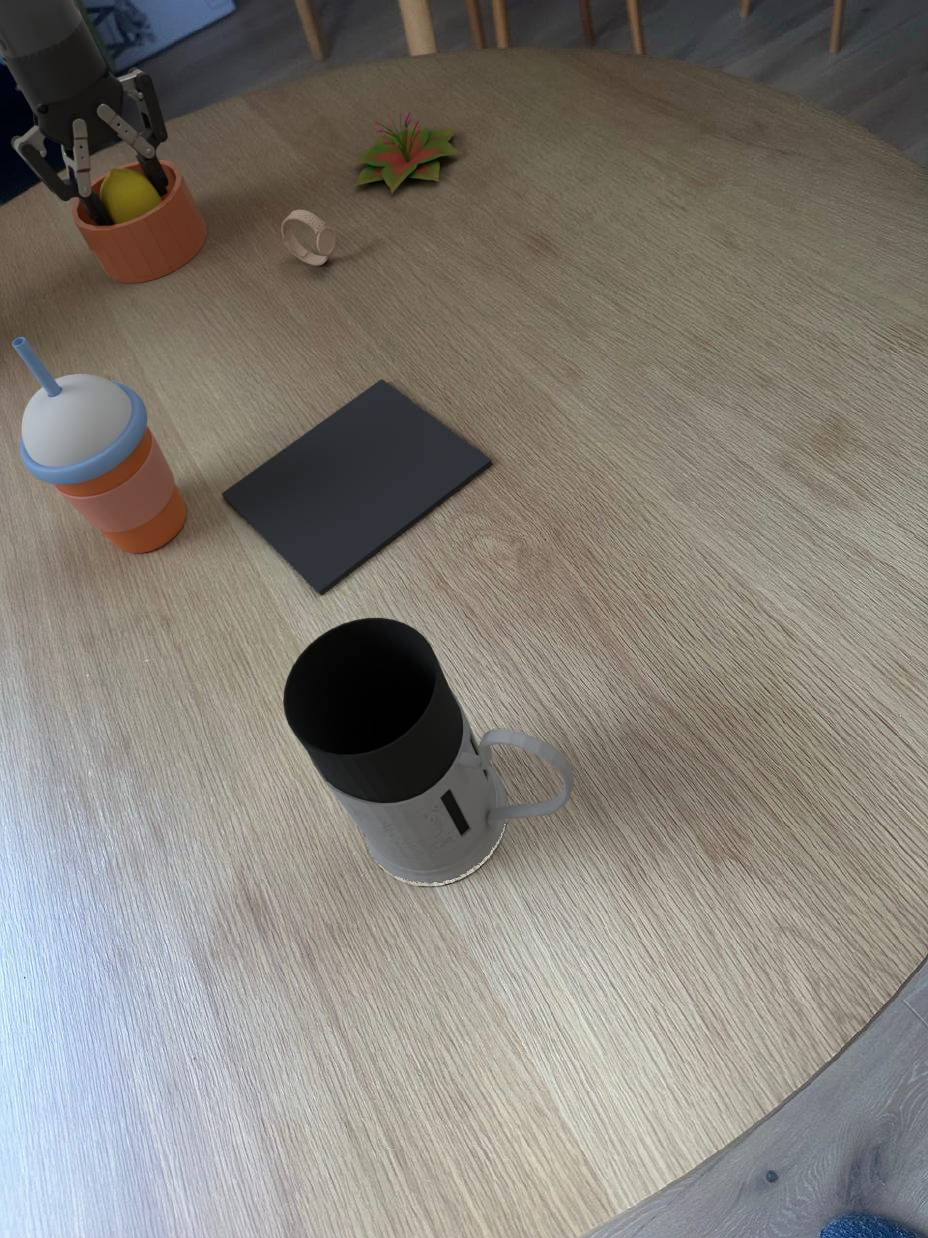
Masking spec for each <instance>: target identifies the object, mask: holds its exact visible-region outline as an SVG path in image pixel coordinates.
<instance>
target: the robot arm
mask: <svg viewBox="0 0 928 1238" xmlns="http://www.w3.org/2000/svg"><path fill="white" fill-rule="evenodd" d="M0 57H1V58H2V60H3V61H4V63H5V65H6V66H7V68H8V70H9V72H10V74H11V75H12V77H13V79H14V80H15V82H16V85H18V87H19V89H20V91H21V92H22V95H23V97H24V98H25V100H26V101H27V103H28V105H29V107H30V108H31V111H32V116H33V124H34V125H33V126H32V127H31V128H30V129H29V130H28V131H27V132H26V133H24V135H22V136H20V135H15V136H13V137H12V138H11V140H10V144H11V147H12V148H13V149H14V150H15V152H16V153H17V154H18V155H19V156H20V158H21V159H22V160H23V161H24V162H25V163H26V164H27V166H28V167H29V168H30V169H31V170H32V171H33V172H34V173H35V175H36V176H37V178H38V179H40V181H41V182H42V184H44V186H46V188H47V189H48V190H49V191H50V192H51V193H52V194H53V195H56V197H57V198H58V199H60V200H61V201H62V202H69V201H71V199H74V198H77V197H78V198H79V200H80V202H81V203H82V205H83V207H84V209H85V210H86V212H87V214H88V215H89V217H90V219H91V220H92V221H94V222H95V223H96V224H97V225H99V226H112V225H114V223H113V221H112V219H111V218H110V216H109V214H108V212H107V211H106V209H105V207H104V205H103V203H102V202H101V200H100V198H99V196H98V195H97V193H96V192H95V191H94V190H92V188H91V183H92V181H91V175H90V172H91V170H92V165H91V158H90V155H92V154H94V153H95V152H96V151H98V150H99V149H100V148H101V146H102V145H105V144H108V143H111V142H114V141H115V140H117V139H118V138H120V139H121V140H122V141H124V142H125V143H126V144H127V145H128V146H129V147H131V148H132V149H133V150H134V151H135V152H136V155H135V158H136V161H138V162H139V164H140V166H141V168H142V170H143V172H144V174H145V176H146V178H147V179H148V180H149V181H150V182H151V183H152V185H153V186H154V187H155V189H156V190H157V192H158V193H159V195H160V196H161V197H162V196H164V195H165V194H167V193H168V192H167V189H166V186H168V185H169V184H168V178H167V176H166V174H165V172H164V170H163V168H162V166H161V164H160V162H159V160H158V159H159V158H158V156H157V149H158V147H159V146H160V144H162V143H165V142H166V141H167V140H168V138H169V137H168V136H169V134H168V131H167V127H166V122H165V120H164V117H163V113H162V110H161V107H160V102H159V99H158V96H157V93H156V90H155V89H156V88H155V86H154V82H153V79H152V76H150V75H149V74H148V73H146V72H144V71H143V70H140V69H139V68H137V67H131V68H129V69H128V71H127V74H124V75H122V76H118V77H116V76H115V75H114V74H112V72H111V71H110V70H109V68H108V65H107V64H106V62H105V60H104V57H103V56H102V54H101V52H100V50H99V48H98V46H97V43H96V41H95V39H94V38H93V35H92V33H91V32H90V29H89V27H88V25H87V24H86V21H85V20H84V17H83V15H82V14H81V12H80V7H79V5H78V2H77V0H0ZM125 92H126V93H127V95H128V97H129V98H130V99H132V100H134V101H135V104H136V107H137V109H138V110H137V111H138V113H139V117H140V119H141V123H142V126H143V129H144V130H143V131H142V133H139V132H138V131H136V129H134V128H133V127H132V126H131V125H129V124H128V122H126V121H125V120H124V119H123V118H122V117H123V108H124V107H123V106H124V94H125ZM46 138H47V139H49V140H51V141H53V142H55V143H57V144H59V145H60V146H61V147H60V148H61V154H62V159H63V162H64V164H65V168H66V174H67V175H66V176H67V178H65V179H61V177H60V176H59V175H58V174H57V173H56V172H55V170H54V169H53V167H51V165H50V164H49V163H48V161H47V160H46V159H45V157H47V148H46V147H45V145H44V140H45V139H46Z"/></svg>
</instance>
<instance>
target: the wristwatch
mask: <svg viewBox="0 0 928 1238" xmlns="http://www.w3.org/2000/svg"><path fill="white" fill-rule="evenodd" d="M291 220H297V221H298V220H299V221H300V222H303V223H305V224H307V226H309V227H310V228H311V229H312V230H313V231H314V234H315V235H317V236H316V248H317V250H318V253H319V254H321V255H317V254H315V253H312V252H311V251H309V250H308V249H306V248H305V247H304V246H303V245H302V244H301V243H300V242H299V240H298V239H297V237H296V235H295V234H294V232H293V229H292V226H291ZM325 225H326V221H323V220H322V219H321V218H319V217H318V216H317V215H316V214H314V213H312V212H311V211H309V210H305V209H294V210H293V211H291V212H290V213H289V214H288V216H287V217H286V218H285V219H284V220H283V221H282V224H281V228H280V231H281V236H282V240H283V242H284V243H285V245H286V247H287V248H288V249H289V250H290V252H291V253H292V254H293V255H294V256H295V257H297V258H298V259H299V260H300V261H302V262H304V263H306V264H308V265H310V266H315V267H316V266H322V265H324V263H326V262H327V261H328V260H329V258H330V257H331V256H332V255H333V254H334V252H335V250H336V243H337V237H336V232H335V231H334V229H333V228H332V227H331V226H328V225H326V226H325Z"/></svg>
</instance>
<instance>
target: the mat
mask: <svg viewBox="0 0 928 1238" xmlns="http://www.w3.org/2000/svg"><path fill="white" fill-rule="evenodd" d="M492 465H493V462H492V459H491V458H489V457H488V456H487V455H486V454H485V453H483V452H481V451H480V450H479V449H477V448H476V447H475V446H473V445H472V444H471V443H469V442H468V441H467V440H465V439H464V438H462V437H461V436H460V435H458V434H457V433H456V432H454V431H453V430H451V429H450V428H449V427H448V426H446V425H445V424H444V423H442V422H441V421H439V420H438V419H437V418H436V417H434V416H433V415H431V414H430V413H428V412H427V411H426V410H424V409H423V408H422V407H421V406H419V405H418V404H416V403H415V402H414V401H413V400H411V399H409V398H408V397H407V396H405V394H403V393H402V392H400V391H399V390H398V389H396V388H395V387H394V386H392V385H391V384H389V382H386V381H385V380H384V379H382V378H381V379H379V380H378V381H377V382H375V383H373V385H371V386H369V387H368V388H367V389H366V390H364V391H363V392H361V393H360V394H358V395H357V396H356V397H354V398H352V399H351V400H350V401H349V402H347V403H346V404H344V405H343V406H342V407H340V408H338V410H336V411H334V412H333V413H332V414H330V415H329V416H327V417H326V418H325V419H323V420H322V421H320V422H319V423H317V425H315V426H314V427H313V428H311V429H309V430H308V431H307V432H306V433H304V434H303V435H301V436H300V437H298V438H297V439H296V440H294V441H293V442H291V443H290V444H289V445H287V446H286V447H285V448H283V449H282V450H280V451H279V452H277V453H276V454H274V455H273V456H272V457H270V458H269V459H267V460H266V461H265V462H263V463H261V465H259V466H258V467H257V468H255V469H254V470H252V471H251V472H250V473H248V474H247V475H245V476H244V477H243V478H241V479H239V480H238V481H237V482H236V483H234V484H233V485H232V486H230V487H229V488H227V489H226V490H224V491H222V493H221V496H222V497H223V499H224V500H226V502H228V504H229V505H230V506H231V507H233V509H234V510H235V511H236V512H237V513H238V514H239V515H240V516H241V517H242V518H243V519H244V520H245V521H246V522H247V524H249V525H250V526H251V527H252V528H253V529H254V530H255V531H256V532H257V533H258V534H259V535H260V536H261V538H263V539H264V540H265V541H266V542H267V543H268V544H269V546H271V547H272V548H273V549H274V550H275V551H276V552H277V553H278V554H279V555H280V556H281V557H282V558H283V559H284V560H285V561H286V562H287V563H288V565H290V566H291V567H292V569H294V570H295V571H296V572H297V573H298V574H299V575H300V577H301V578H303V579H304V580H305V581H306V583H308V584H309V586H310V587H311V588H312V589H313V590H314V591H315V592H316V593H318V595H319V596H322V595H324V594H325V593H326V592H328V591H329V590H330V589H332V588H333V587H334V586H335V585H338V584H339V582H341V581H342V580H344V579H345V578H346V577H348V576H349V575H350V574H352V572H354V571H356V569H358V568H359V567H360V566H362V565H363V564H365V563H366V562H367V561H369V560H370V559H371V558H372V557H373V556H375V555H376V554H377V553H378V552H380V551H382V550H383V549H384V548H385V547H387V546H388V545H389V544H390V543H392V542H393V541H394V540H396V539H397V538H398V537H399V536H401V535H402V534H403V533H405V532H406V531H407V530H409V529H410V528H411V527H413V526H414V525H415V524H416V523H418V522H419V521H420V520H421V519H423V518H424V517H426V516H427V515H428V514H430V513H431V512H432V511H434V510H435V509H436V508H437V507H439V506H440V505H441V504H442V503H444V502H445V501H447V500H448V499H449V498H451V496H453V495H455V494H456V493H457V492H458V491H459V490H461V489H462V488H463V487H465V486H466V485H467V484H468V483H470V482H471V481H473V480H474V479H475V478H476V477H478V475H480V474H481V473H482V472H484V471H486V470H487V469H488V468H490V467H491V466H492Z"/></svg>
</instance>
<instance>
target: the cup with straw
mask: <svg viewBox="0 0 928 1238" xmlns="http://www.w3.org/2000/svg"><path fill="white" fill-rule="evenodd" d="M11 345H12V347H13V348H14V350H15V351H16V352H17V354H18V355H19V357H20V358H21V359H22V361H23V362H24V363H25V365H26V366H27V367H28V369H29V370H30V371H31V373H32V375H34V377H35V378H36V380H37V381H38V382H39V384H40V385H41V388H40V389H38V390H37V391H36V392H35V393H34V394H33V396H32V397H31V398H30V400H29V401H28V403H27V405H26V407H25V409H24V412H23V415H22V420H21V437H20V442H19V453H20V457H21V460H22V462H23V465H24V466H25V468H26V469H27V470H28V472H29V473H30V474H32V475H33V476H34V477H35V478H36V479H38V480H40V481H42V482H44V483H47V484H49V485H50V484H51V485H52V486H53V488H54V489H55V490H56V491H57V492H58V493H59V494H60V495H61V496H62V497H63V498H64V499H65V500H66V501H67V502H68V503H69V504H70V505H71V506H72V507H73V508H74V509H75V510H76V511H77V512H78V513H79V514H80V515H81V516H82V517H83V518H84V519H85V520H86V521H87V522H88V523H89V524H90V525H91V526H92V527H93V528H95V529H96V530H99V531H100V532H102V533H103V534H104V535H105V536H106V538H107V539H109V540H110V541H111V542H112V543H113V544H114V545H115V546H116V547H117V548H118V549H120V550H121V551H124V552H126V553H130V554H143V553H148V552H151V551H155V550H156V549H159V548H161V547H163V546H164V545H166V544H168V543H169V542H170V541H171V540H172V539H174V538H175V537H176V536H177V534H179V532H180V531H181V530H182V528H183V526H184V524H185V522H186V518H187V506H186V503H185V501H184V499H183V497H182V494H181V492H180V491H179V489H178V486H177V484H176V483H175V475H174V473H173V471H172V469H171V467H170V465H169V464H168V461H167V459H166V457H165V456H164V455H165V454H164V453H163V451H162V449H161V447H160V445H159V443H158V441H157V439H156V437H155V436H154V433H153V432H152V430H151V428H150V427H149V426H148V411H147V408H146V405H145V402H144V401H143V399H142V397H140V395H139V394H138V393H137V392H136V391H135V390H134V389H132V388H131V387H129V386H128V385H125V384H124V383H121V382H118V381H111V380H109V379H107V378H105V377H102V376H98V375H94V374H88V373H74V374H68V375H64V376H60V377H57V378H54V376H53V375H52V374H51V373H50V371H49V370H48V368H47V367H46V365H45V364H44V362H43V361H42V360H41V359H40V357H39V356H38V354H37V353H36V352H35V350H34V349H33V347H32V346H31V345H30V343H29V342H28V340H27V339H26V338H25V336H19V337H17V338H15V339H14V340H13V341H12V343H11Z"/></svg>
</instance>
